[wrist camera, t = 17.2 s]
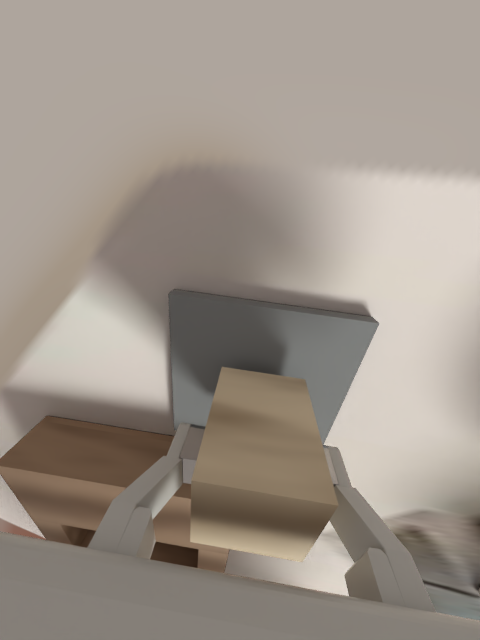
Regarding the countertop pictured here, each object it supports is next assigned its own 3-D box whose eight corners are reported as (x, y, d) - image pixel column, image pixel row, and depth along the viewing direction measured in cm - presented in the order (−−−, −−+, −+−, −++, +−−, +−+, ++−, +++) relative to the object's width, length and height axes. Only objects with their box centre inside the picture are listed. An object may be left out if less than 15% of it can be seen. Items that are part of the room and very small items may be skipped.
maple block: (287, 434, 13) (302, 562, 8) (216, 422, 13) (190, 541, 8) (305, 379, 11) (338, 505, 6) (221, 366, 11) (191, 480, 6)
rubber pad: (316, 443, 16) (319, 453, 16) (178, 421, 17) (174, 430, 16) (371, 316, 11) (379, 323, 11) (174, 289, 12) (168, 293, 11)
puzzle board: (222, 558, 28) (212, 638, 23) (99, 536, 29) (61, 609, 23) (243, 447, 17) (235, 550, 12) (46, 415, 18) (-44, 499, 13)
